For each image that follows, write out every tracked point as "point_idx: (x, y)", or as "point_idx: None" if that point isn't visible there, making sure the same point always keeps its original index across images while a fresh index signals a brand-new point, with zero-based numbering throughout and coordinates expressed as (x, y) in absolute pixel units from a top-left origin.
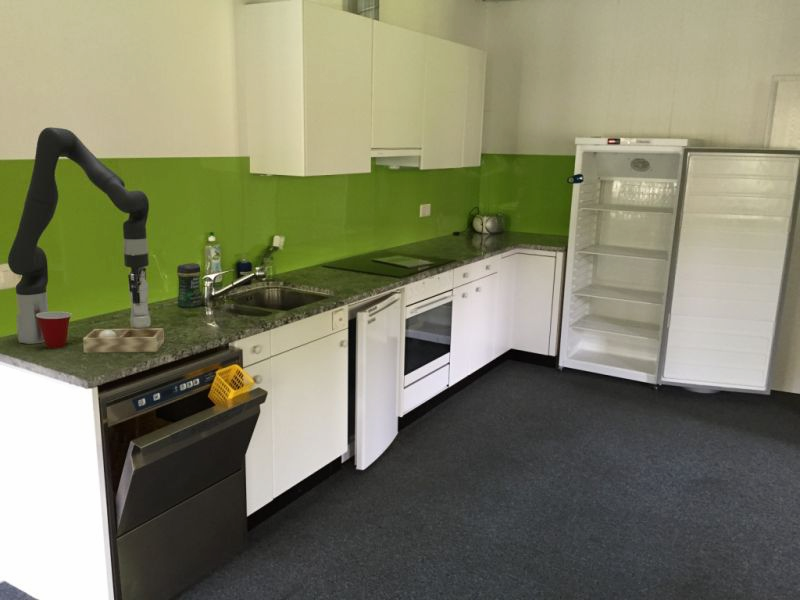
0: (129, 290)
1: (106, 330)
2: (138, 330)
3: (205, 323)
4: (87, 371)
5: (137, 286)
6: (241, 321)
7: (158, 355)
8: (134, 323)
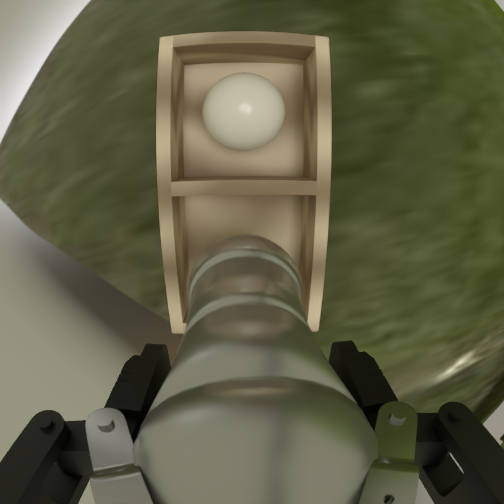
0: (40, 416)
1: (235, 103)
2: (313, 234)
3: (472, 347)
4: (24, 149)
5: (66, 493)
6: None
7: (165, 310)
8: (191, 270)
